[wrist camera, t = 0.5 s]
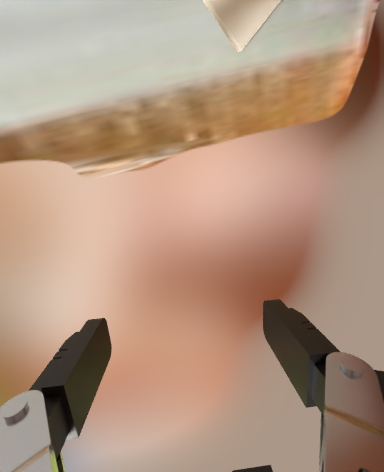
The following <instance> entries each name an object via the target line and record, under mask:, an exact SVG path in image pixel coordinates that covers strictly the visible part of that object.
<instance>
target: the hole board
mask: <svg viewBox="0 0 384 472" xmlns="http://www.w3.org/2000/svg"><path fill="white" fill-rule="evenodd" d="M280 1H281V0H203V2H204V3H205V4H206V6H207V7H208V9H209V10H210V12H211V13H212V15H213V16H214V18H215V19H216V21H217V22H218V24H219V25H220V27H221V28H222V30H223V31H224V32H225V34H226V35H227V37H228V38H229V40H230V41H231V43H232V44H233V46H234V47H235V49H236V50H237V52H238V53H239V52H240V51H241V50H243V48H244V47H245V46H246V44H247V43H248V42H249V41H250V39H251V38H252V37H253V36H254V34H255V33H256V32H257V30H258V29H259V28H260V27H261V25H262V24H263V23H264V22H265V20H266V19H267V18H268V16H269V15H270V14H271V13H272V11H273V10H274V9H275V8H276V6H277V5H278V4H279V3H280Z"/></svg>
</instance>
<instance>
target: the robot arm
mask: <svg viewBox="0 0 384 472" xmlns="http://www.w3.org/2000/svg"><path fill="white" fill-rule="evenodd" d="M263 330H264V335H265V338H266V340H267V342H268V344H269V345H270V347H271V349H272V350H273V352H274V354H275V355H276V357H277V359H278V360H279V362H280V364H281V366H282V367H283V369H284V371H285V372H286V374H287V376H288V378H289V379H290V381H291V383H292V384H293V386H294V388H295V389H296V391H297V393H298V394H299V396H300V398H301V399H302V401H303V403H304V405H305V406H306V407H313V406H317V407H318V408H319V410H320V411H321V429H320V455H319V472H384V371H377V370H373V368H372V367H371V366H370V365H369V364H367V363H366V362H365V361H363V360H362V359H360V358H358V357H356V356H354V355H351V354H347V353H343V352H340V351H339V350H338V349H337V348H336V347H335V346H334V345H333V344H332V343H331V342H330V341H329V340H328V339H327V338H326V337H325V336H324V335H323V334H322V333H321V332H320V331H319V330H318V329H316V327H315V326H314V325H313V324H312V323H310V321H309V320H308V319H307V318H306V317H305V316H304V315H303V314H302V313H300V312H298V311H296V310H295V309H293V308H289V309H288V308H287V307H286V306H285V304H284V303H283V302H282V301H281V300H279V299H276V300H268V301H264V303H263ZM110 357H111V341H110V336H109V331H108V326H107V322H106V319H105V318H100V319H92V320H88V321H87V322H86V323H85V325H84V326H83V328H82V329H81V330H80V332H76V333H74V334H73V335H72V336H71V337H69V338H68V339H67V340H66V341H65V342H64V344H63V345H62V346H61V348H60V349H59V352H57V353H56V354H55V356H54V357H53V360H51V361H50V362H49V364H48V365H47V367H46V368H45V369H44V371H43V372H42V373H41V375H40V376H39V378H38V379H37V380H36V381H35V383H34V384H33V385H32V387H31V388H30V390H29V391H27V392H24V393H21V394H19V395H17V396H15V397H14V398H12V399H11V400H9V401H8V402H6V403H5V404H4V405H2V406H1V407H0V472H65V468H64V463H63V458H62V454H61V449H62V447H63V445H64V443H65V440H67V439H73V438H79V435H80V433H81V430H82V428H83V425H84V422H85V420H86V418H87V415H88V412H89V410H90V407H91V405H92V402H93V400H94V397H95V395H96V392H97V390H98V387H99V385H100V382H101V380H102V377H103V375H104V372H105V370H106V367H107V365H108V362H109V360H110ZM232 472H273V471H272V468H271V466H270V465H267V466H260V467H254V468H247V469H241V470H234V471H232Z"/></svg>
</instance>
